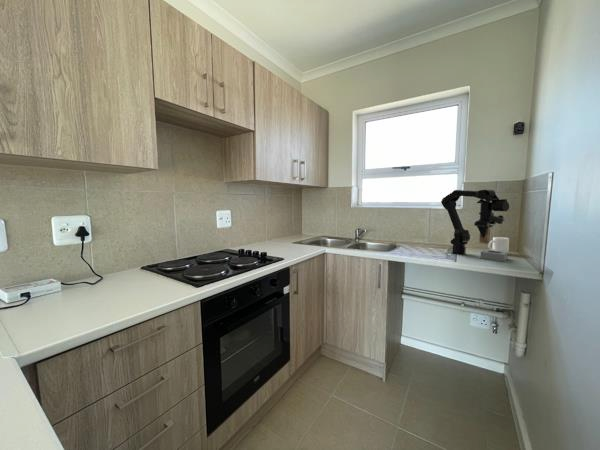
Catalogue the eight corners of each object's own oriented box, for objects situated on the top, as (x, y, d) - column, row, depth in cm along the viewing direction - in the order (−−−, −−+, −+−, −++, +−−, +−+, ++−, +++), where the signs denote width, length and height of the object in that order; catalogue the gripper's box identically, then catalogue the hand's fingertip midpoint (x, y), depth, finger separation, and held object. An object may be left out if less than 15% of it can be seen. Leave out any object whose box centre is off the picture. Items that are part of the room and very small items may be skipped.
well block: (480, 258, 148) (480, 251, 147) (485, 255, 155) (485, 249, 155) (503, 261, 139) (504, 254, 139) (507, 258, 147) (508, 252, 146)
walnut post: (479, 242, 147) (480, 226, 146) (481, 242, 149) (482, 225, 148) (487, 243, 144) (488, 226, 143) (489, 242, 146) (490, 226, 145)
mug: (492, 254, 157) (493, 239, 156) (483, 252, 165) (484, 237, 164) (511, 254, 157) (512, 238, 156) (501, 252, 165) (502, 237, 164)
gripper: (499, 211, 133) (497, 240, 134) (507, 210, 144) (505, 236, 146) (474, 211, 141) (473, 238, 143) (484, 210, 153) (483, 235, 154)
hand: (484, 237), depth 146 cm, fingers closed on walnut post, 4 cm apart
